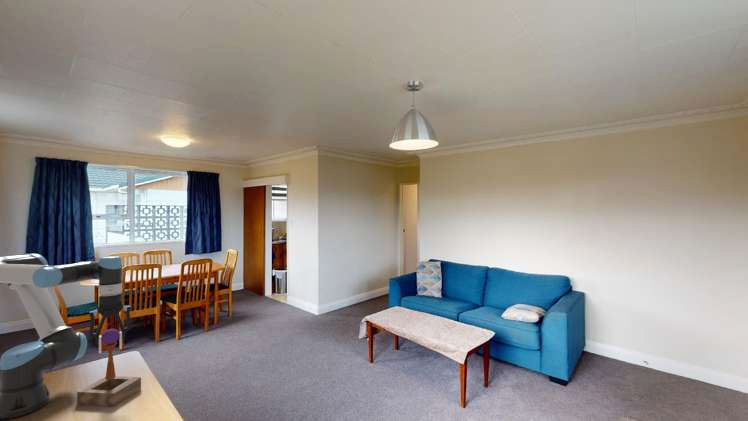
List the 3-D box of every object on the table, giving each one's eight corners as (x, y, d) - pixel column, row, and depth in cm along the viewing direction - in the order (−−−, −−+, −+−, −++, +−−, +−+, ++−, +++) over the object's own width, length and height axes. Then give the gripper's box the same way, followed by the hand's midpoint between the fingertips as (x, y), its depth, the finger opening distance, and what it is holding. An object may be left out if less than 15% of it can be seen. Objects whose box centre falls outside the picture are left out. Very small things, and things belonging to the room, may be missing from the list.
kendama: (106, 382, 131) (107, 332, 131) (97, 380, 133) (97, 330, 134) (123, 375, 136) (123, 327, 137) (114, 373, 139) (114, 326, 139)
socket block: (76, 404, 129) (77, 391, 129) (107, 387, 142) (107, 375, 142) (113, 406, 127) (113, 393, 127) (140, 389, 140) (141, 377, 140)
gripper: (79, 299, 127) (79, 359, 126) (139, 292, 138) (139, 347, 138) (80, 296, 132) (80, 353, 132) (138, 289, 144) (138, 341, 144)
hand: (110, 350), depth 135 cm, fingers closed on kendama, 6 cm apart
